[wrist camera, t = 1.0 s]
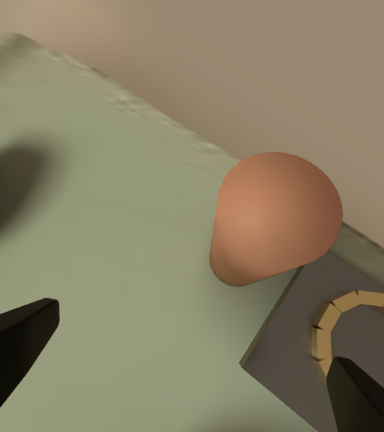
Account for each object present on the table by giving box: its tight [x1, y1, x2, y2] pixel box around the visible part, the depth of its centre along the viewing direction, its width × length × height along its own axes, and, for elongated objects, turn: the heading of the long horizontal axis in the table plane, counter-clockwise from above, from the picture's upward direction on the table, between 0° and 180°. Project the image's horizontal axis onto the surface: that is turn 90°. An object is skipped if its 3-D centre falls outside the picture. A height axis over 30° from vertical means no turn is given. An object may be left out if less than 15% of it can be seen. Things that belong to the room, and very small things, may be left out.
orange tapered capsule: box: [210, 152, 343, 287], centre depth 17 cm, size 5×5×14 cm
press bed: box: [239, 251, 384, 432], centre depth 19 cm, size 16×12×2 cm
